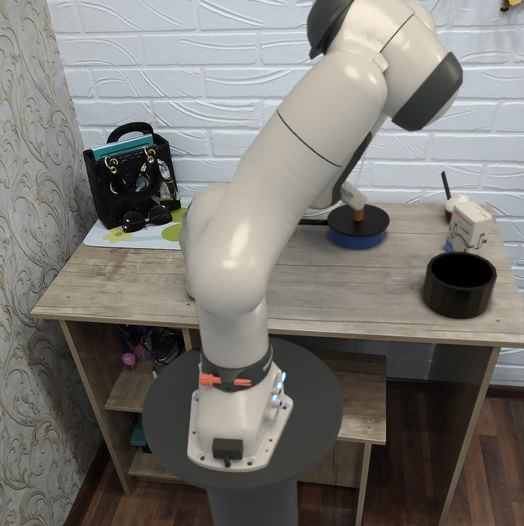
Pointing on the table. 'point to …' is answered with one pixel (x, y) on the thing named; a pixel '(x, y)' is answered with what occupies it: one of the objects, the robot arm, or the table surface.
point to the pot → (459, 284)
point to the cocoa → (451, 199)
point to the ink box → (468, 229)
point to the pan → (356, 240)
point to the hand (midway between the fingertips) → (348, 198)
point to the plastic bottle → (184, 249)
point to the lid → (358, 220)
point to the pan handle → (313, 222)
